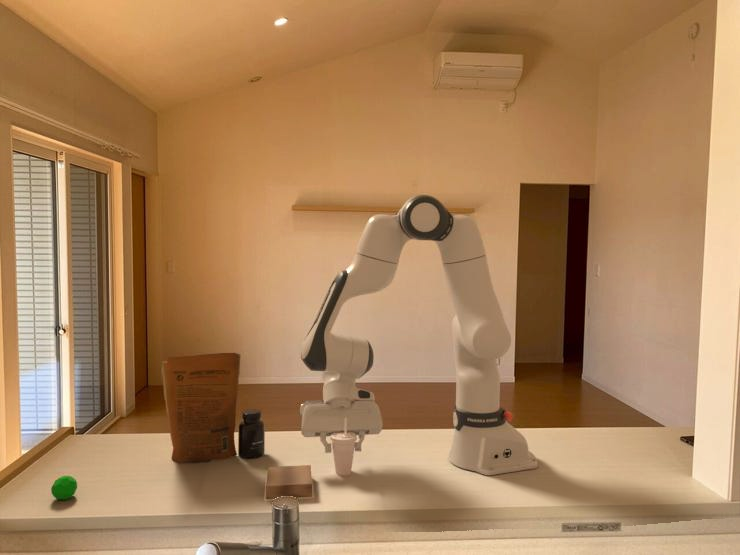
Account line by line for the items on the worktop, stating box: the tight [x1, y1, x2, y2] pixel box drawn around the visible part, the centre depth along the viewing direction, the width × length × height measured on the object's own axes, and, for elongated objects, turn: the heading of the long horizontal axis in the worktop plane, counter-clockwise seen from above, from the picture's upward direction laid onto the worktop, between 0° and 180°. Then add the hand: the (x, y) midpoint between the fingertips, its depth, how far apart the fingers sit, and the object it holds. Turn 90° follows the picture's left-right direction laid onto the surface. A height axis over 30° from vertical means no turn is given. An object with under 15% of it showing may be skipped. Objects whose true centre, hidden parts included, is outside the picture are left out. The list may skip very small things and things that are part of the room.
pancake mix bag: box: [161, 352, 241, 464], centre depth 143 cm, size 7×19×28 cm, turn 99°
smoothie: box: [330, 418, 358, 476], centre depth 135 cm, size 6×6×14 cm
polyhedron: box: [50, 475, 78, 501], centre depth 122 cm, size 5×5×5 cm
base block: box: [265, 464, 312, 499], centre depth 127 cm, size 10×10×3 cm
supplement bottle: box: [237, 408, 266, 460], centre depth 146 cm, size 7×7×12 cm
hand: (343, 451), depth 135 cm, fingers closed on smoothie, 6 cm apart
